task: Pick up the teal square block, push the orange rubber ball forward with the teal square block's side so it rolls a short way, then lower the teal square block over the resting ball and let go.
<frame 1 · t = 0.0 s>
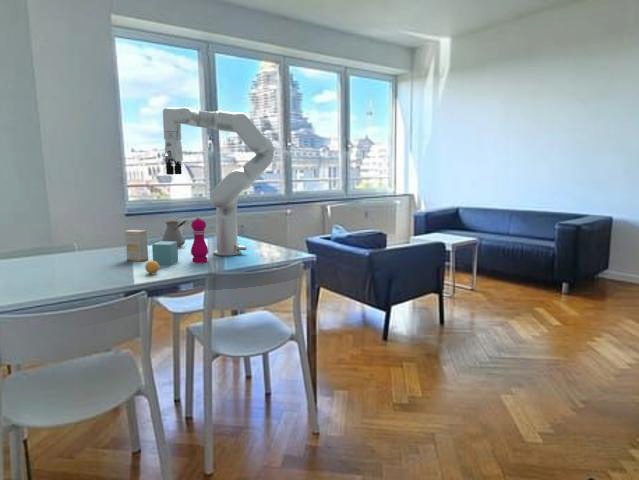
hand: (174, 174, 213), 37 cm above the table, tool pointing down, fingers open, 9 cm apart
pepper mill: (200, 262, 199), on the table
supplement box: (137, 260, 202), on the table
teal square block: (165, 263, 195), on the table
coffee pot: (177, 248, 230), on the table
ball: (152, 267, 177), on the table
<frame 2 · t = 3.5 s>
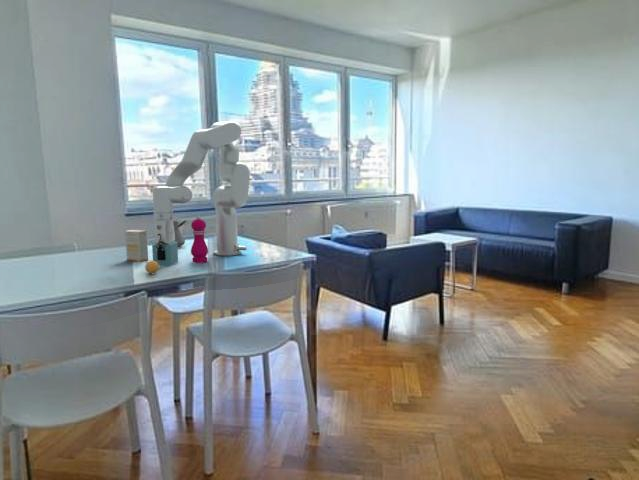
hand: (165, 257, 195), 2 cm above the table, tool pointing down, fingers closed on teal square block, 7 cm apart
teal square block: (165, 263, 195), on the table, touching gripper
everything else where it was.
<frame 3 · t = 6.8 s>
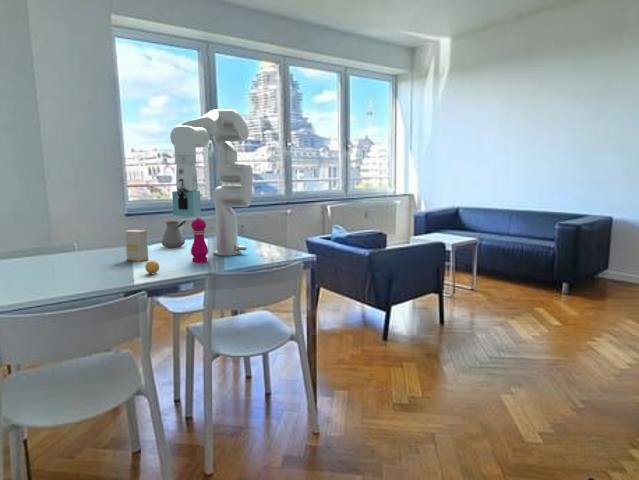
hand: (187, 208, 173), 25 cm above the table, tool pointing down, fingers closed on teal square block, 7 cm apart
teal square block: (187, 214, 173), point 23 cm above the table, touching gripper
everything else where it was.
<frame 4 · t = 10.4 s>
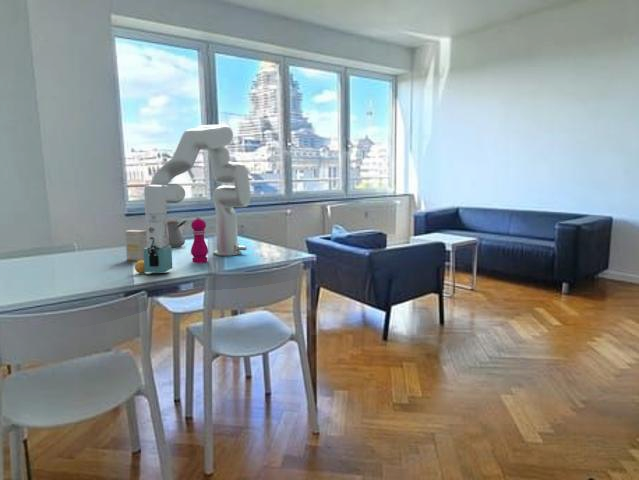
hand: (158, 263, 176), 4 cm above the table, tool pointing down, fingers closed on teal square block, 7 cm apart
teal square block: (158, 269, 177), point 1 cm above the table, touching gripper
ball: (141, 266, 177), on the table
everything else where it was.
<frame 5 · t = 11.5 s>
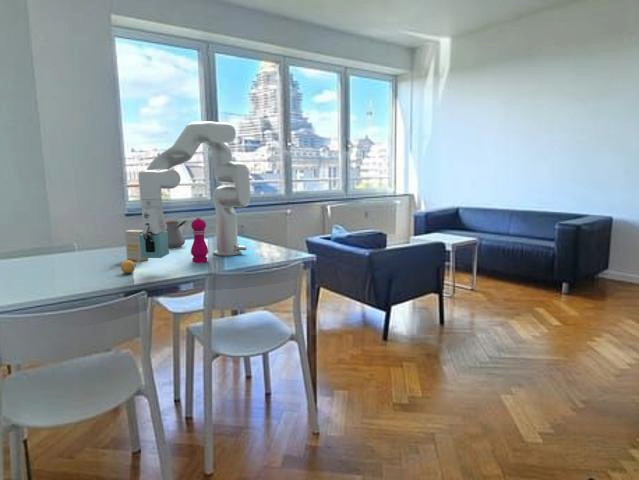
hand: (155, 249, 176), 9 cm above the table, tool pointing down, fingers closed on teal square block, 7 cm apart
teal square block: (155, 255, 177), point 7 cm above the table, touching gripper
ball: (128, 266, 177), on the table
everything else where it was.
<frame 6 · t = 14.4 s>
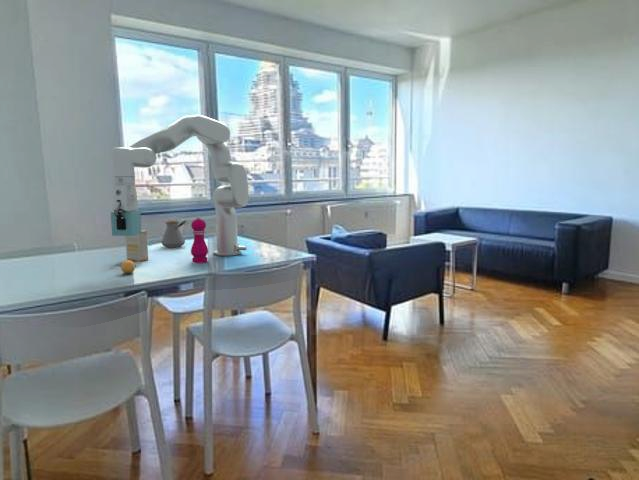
hand: (126, 227, 175), 18 cm above the table, tool pointing down, fingers closed on teal square block, 7 cm apart
teal square block: (127, 234, 175), point 15 cm above the table, touching gripper
everything else where it was.
when the fingers open (3 cm above the table, at t = 17.2 s): teal square block stays where it is, on the table.
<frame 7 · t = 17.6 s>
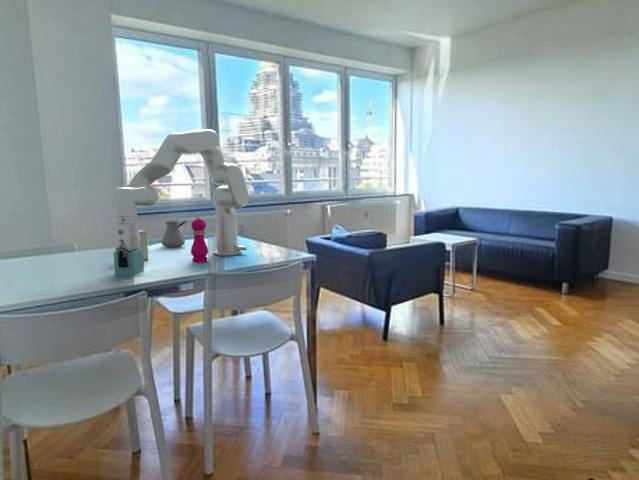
hand: (129, 264, 177), 3 cm above the table, tool pointing down, fingers open, 9 cm apart
teal square block: (129, 273, 178), on the table
everything else where it was.
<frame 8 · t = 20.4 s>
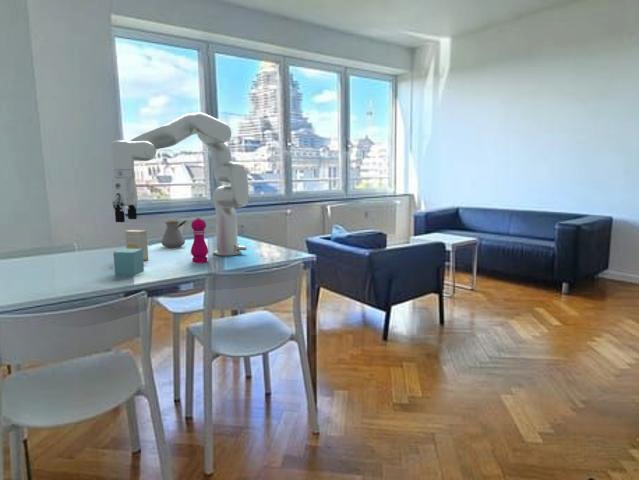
hand: (126, 220, 174), 20 cm above the table, tool pointing down, fingers open, 9 cm apart
nothing on the table moved.
at the end: ball 0.5 cm from the teal square block (horizontally); teal square block on the table; ball moved 9.5 cm from its start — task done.
